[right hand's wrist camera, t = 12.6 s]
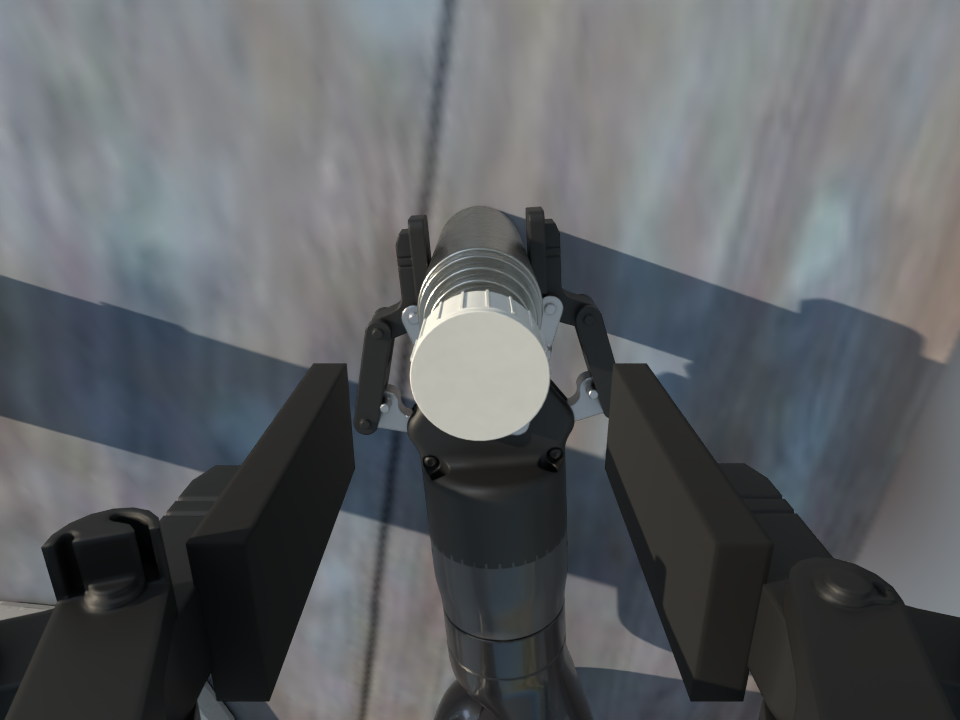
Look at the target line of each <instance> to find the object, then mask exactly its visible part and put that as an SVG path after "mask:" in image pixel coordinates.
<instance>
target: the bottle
mask: <svg viewBox="0 0 960 720" xmlns="http://www.w3.org/2000/svg"><path fill="white" fill-rule="evenodd" d="M486 290H489V292H495V293H498V294H502V295H504V296H507V297H509V296H511V297H512V299H513V300H514V301H516V302H518V303H519V304H520V305H521V306H523V307H524V308H525V309H526V310H527V311H530V312H531V315H532V317H533V319H534V320H535V322H536V324H537V326H538V328H539V331H540V329H541V323H542V316H543V299H542V295H541V290H540V288H539V285H538V282H537V280H536V277H535V274H534V272H533V269H532V266H531V264H530V261H529V258H528V256H527V253H526V250H525V248H524V245H523V242H522V240H521V237H520V234H519V232H518V230H517V228H516V226H515V225H514V223H513V222H512V221H511V220H510V218H509V217H507V216H506V215H505V214H503V213H502V212H500V211H498V210H496V209H493V208H490V207H484V206H476V207H470V208H467V209H464V210H462V211H460V212H458V213H457V214H455V215H454V216H453V217H452V218H451V219H450V220H449V221H448V222H447V223H446V225H445V226H444V228H443V230H442V232H441V235H440V237H439V240H438V243H437V246H436V248H435V251H434V254H433V256H432V259H431V262H430V264H429V267H428V270H427V272H426V275H425V278H424V280H423V283H422V286H421V288H420V292H419V296H418V303H417V314H418V321H419V327H420V331H421V328H422V324H423V321H424V319H425V318H426V319H427V318H428V317H429V315H430V314H431V313H432V312H433V311H434V310H435V309H436V308H437V307H438V306H439V303H440V302H441V301H442V302H444V301H446V300H448V299H450V298H451V297H454V296H456V295H459V294H461V292H463V291H464V293H466V292H472V291H486Z"/></svg>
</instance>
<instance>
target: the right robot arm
mask: <svg viewBox="0 0 960 720" xmlns="http://www.w3.org/2000/svg"><path fill="white" fill-rule="evenodd" d="M354 470H355V462H354V449H353V437H352V424H351V412H350V399H349V387H348V374H347V364H313V365H312V366H311V368H310V369H309V370H308V372H307V373H306V375H305V376H304V378H303V379H302V380H301V382H300V383H299V385H298V386H297V387H296V389H295V390H294V392H293V393H292V394H291V396H290V397H289V399H288V400H287V401H286V403H285V404H284V406H283V407H282V409H281V410H280V411H279V413H278V414H277V416H276V417H275V418H274V420H273V421H272V423H271V424H270V425H269V427H268V428H267V430H266V431H265V432H264V434H263V435H262V437H261V438H260V440H259V441H258V442H257V444H256V445H255V447H254V448H253V449H252V451H251V452H250V454H249V455H248V456H247V458H246V459H245V461H244V462H243V464H242V465H241V466H214V467H213V468H211V469H210V470H208V471H207V472H205V473H203V474H202V475H200V476H199V477H197V478H196V479H194V480H192V482H191V483H190V484H189V485H188V487H187V488H186V489H185V490H184V491H183V493H182V494H181V495H180V496H179V498H178V501H175V502H174V504H173V505H172V506H171V507H170V509H169V510H168V511H167V515H166V516H163V517H162V518H161V520H160V521H159V518H158V517H157V516H156V515H154V514H153V513H152V512H150V511H149V510H144V509H139V508H118V509H111V510H106V511H102V512H98V513H94V514H91V515H88V516H86V517H83V518H81V519H79V520H76V521H74V522H72V523H69V524H68V525H66V526H65V527H63V528H62V529H60V530H59V531H57V532H56V533H54V534H53V535H52V536H51V537H50V538H49V539H48V540H47V541H46V543H45V544H44V545H43V546H42V547H41V549H42V552H43V555H44V559H45V562H46V566H47V569H48V572H49V576H50V579H51V582H52V586H53V589H54V592H55V596H56V599H57V603H56V605H55V608H53V609H49V610H46V611H42V612H37V613H32V614H27V615H23V616H18V617H13V618H9V619H4V620H0V720H201V716H200V710H199V706H198V701H197V699H198V697H199V695H200V693H201V691H202V689H203V687H204V685H205V683H206V681H207V679H208V677H209V675H210V673H211V675H212V680H213V685H214V690H215V695H216V700H217V701H270V698H271V695H272V693H273V690H274V687H275V684H276V682H277V679H278V676H279V674H280V671H281V668H282V665H283V663H284V660H285V657H286V655H287V652H288V649H289V646H290V644H291V641H292V638H293V635H294V633H295V630H296V627H297V625H298V622H299V619H300V616H301V614H302V611H303V608H304V606H305V603H306V600H307V597H308V595H309V592H310V589H311V587H312V584H313V581H314V578H315V576H316V573H317V570H318V568H319V565H320V562H321V559H322V557H323V554H324V551H325V549H326V546H327V543H328V540H329V538H330V535H331V532H332V530H333V527H334V524H335V521H336V519H337V516H338V513H339V510H340V508H341V505H342V502H343V500H344V497H345V494H346V491H347V489H348V486H349V483H350V481H351V478H352V475H353V472H354ZM605 470H606V472H607V475H608V478H609V481H610V483H611V486H612V489H613V491H614V494H615V497H616V500H617V502H618V505H619V508H620V510H621V513H622V516H623V519H624V521H625V524H626V527H627V530H628V532H629V535H630V538H631V540H632V543H633V546H634V549H635V551H636V554H637V557H638V559H639V562H640V565H641V568H642V570H643V573H644V576H645V578H646V581H647V584H648V587H649V589H650V592H651V595H652V597H653V600H654V603H655V606H656V608H657V611H658V614H659V616H660V619H661V622H662V625H663V627H664V630H665V633H666V635H667V638H668V641H669V644H670V646H671V649H672V652H673V655H674V657H675V660H676V663H677V665H678V668H679V671H680V674H681V676H682V679H683V682H684V684H685V687H686V690H687V693H688V695H689V698H690V701H743V700H744V695H745V690H746V685H747V680H748V675H749V670H750V672H751V674H752V676H753V678H754V680H755V682H756V684H757V686H758V688H759V690H760V692H761V694H762V696H763V701H762V706H761V710H760V715H759V720H960V617H955V616H950V615H945V614H940V613H936V612H931V611H927V610H922V609H917V608H914V607H910V606H906V605H905V604H904V602H903V600H902V599H901V597H900V596H899V595H898V593H897V592H896V591H895V589H894V588H893V587H892V586H891V585H890V584H888V583H887V582H886V581H884V580H883V579H882V578H880V577H879V576H878V575H876V574H875V573H873V572H870V571H868V570H866V569H864V568H862V567H860V566H858V565H856V564H853V563H849V562H845V561H842V560H838V559H834V558H833V557H832V556H831V555H830V553H829V552H828V551H827V550H826V548H825V547H824V546H823V545H822V544H821V542H820V541H819V540H818V539H817V537H816V536H815V535H814V534H813V533H812V531H811V530H810V529H809V528H808V527H807V525H806V524H805V523H804V522H803V520H802V519H801V518H800V517H799V516H798V514H794V510H793V508H792V507H791V506H790V505H789V503H788V502H787V501H786V500H785V499H782V495H781V494H780V493H779V491H778V490H777V489H776V488H775V486H774V485H773V484H772V483H771V482H770V480H769V479H768V478H766V477H765V476H763V475H762V474H760V473H759V472H757V471H755V470H754V469H752V468H751V467H749V466H748V465H746V464H717V462H716V461H715V459H714V458H713V456H712V455H711V454H710V452H709V451H708V449H707V448H706V447H705V445H704V444H703V442H702V441H701V440H700V438H699V437H698V435H697V434H696V432H695V431H694V430H693V428H692V427H691V425H690V424H689V423H688V421H687V420H686V418H685V417H684V416H683V414H682V413H681V411H680V410H679V409H678V407H677V406H676V404H675V403H674V401H673V400H672V399H671V397H670V396H669V394H668V393H667V392H666V390H665V389H664V387H663V386H662V385H661V383H660V382H659V380H658V379H657V378H656V376H655V375H654V373H653V372H652V370H651V369H650V368H649V366H648V365H647V364H613V374H612V387H611V399H610V412H609V424H608V437H607V449H606V462H605Z"/></svg>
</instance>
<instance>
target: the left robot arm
mask: <svg viewBox="0 0 960 720" xmlns="http://www.w3.org/2000/svg"><path fill="white" fill-rule="evenodd" d="M526 233H527V256H528V258H529V261H530V264H531V266H532V269H533V272H534V274H535V277H536V280H537V282H538V285H539V288H540V290H541V295H542V299H543V316H542V323H541V329H540V330H542V333H543V336H544V339H545V343H546V346H547V349H548V351H546V354H547V357H548V361H549V359H550V356H551V350H552V343H553V340H554V337H555V334H556V331H557V328H558V324H559V322H562V323H566V324H569V325H573V326H575V329H576V332H577V336H578V339H579V342H580V346H581V349H582V352H583V355H584V359H585V362H586V365H587V369H588V371H586V372H583V373H581V374H580V375H579V376H578V378H577V381H576V384H577V390H576V393H575V394H574V395H573V396H572V397H571V398H568V399H567V398H566V396H565V395H564V394H563V393H562V392H561V391H560V389H559V388H558V387H557V386H556V385H555V384H554V382H553V381H552V380H551V379H550V386H549V391H548V394H547V397H546V400H545V402H544V404H543V406H542V407H541V409H540V410H539V412H538V413H537V415H536V416H535V417H534V418H533V419H532V420H531V421H530V422H529V423H528V424H527V425H525V426H524V427H523V428H521V429H520V430H518V431H516V432H514V433H512V434H510V435H508V436H505V437H502V438H499V439H494V440H487V441H473V440H466V439H462V438H458V437H455V436H453V435H450V434H448V433H446V432H444V431H442V430H441V429H439V428H438V427H436V426H435V425H434V424H433V423H432V422H430V421H429V420H428V419H427V417H426V416H425V415H424V414H423V413H422V411H421V410H420V408H419V407H418V405H417V403H415V405H414V406H413V408H412V409H409V408H407V407H405V406H404V405H403V403H402V401H401V394H400V391H399V389H398V388H397V387H395V386H393V385H389V384H388V380H389V374H390V367H391V360H392V353H393V347H394V340H395V338H396V337H398V336H400V335H403V334H405V333H408V335H409V337H410V339H411V341H412V343H413V345H415V342H416V339H417V340H418V338H419V335H420V327H419V321H418V314H417V303H418V296H419V292H420V288H421V286H422V283H423V280H424V278H425V275H426V272H427V270H428V267H429V264H430V262H431V251H430V241H429V231H428V221H427V216H426V215H415V216H411V217H410V218H409V219H408V229H402V230H401V232H400V233H399V235H398V239H397V242H396V253H397V261H398V269H399V278H400V286H401V294H402V300H401V301H400V302H399V303H397V304H395V305H392V306H390V307H388V308H387V307H383V308H380V309H378V310H377V311H376V312H375V314H374V315H373V318H372V321H371V322H370V323H369V324H368V326H367V328H366V331H365V338H364V345H363V353H362V361H361V369H360V376H359V384H358V392H357V399H356V407H355V415H354V427H355V429H356V430H357V431H358V432H359V433H361V434H364V435H369V434H372V433H374V432H375V431H376V429H377V427H378V428H384V429H390V430H396V431H402V432H407V433H408V436H409V438H410V440H411V441H412V442H413V443H414V445H415V446H416V448H417V449H418V451H419V454H420V457H421V463H422V472H423V480H424V488H425V497H426V505H427V513H428V521H429V530H430V538H431V546H432V555H433V563H434V570H435V576H436V580H437V584H438V587H439V590H440V594H441V597H442V602H443V609H444V618H445V627H446V635H447V644H448V652H449V658H450V662H451V666H452V669H453V671H454V674H455V677H456V680H455V681H454V682H453V683H452V684H451V686H450V687H449V688H448V690H447V691H446V692H445V694H444V696H443V698H442V700H441V702H440V704H439V707H438V709H437V712H436V714H435V717H434V720H593V717H592V713H591V710H590V707H589V704H588V701H587V698H586V696H585V693H584V690H583V688H582V685H581V682H580V680H579V677H578V674H577V672H576V669H575V666H574V663H573V660H572V658H571V655H570V653H569V651H568V648H567V646H566V628H565V598H564V593H565V584H566V577H567V569H568V544H567V505H566V469H565V444H566V441H567V438H568V436H569V434H570V433H571V431H572V429H573V427H574V422H575V421H578V420H581V419H585V418H588V417H591V416H594V415H598V414H601V413H604V414H605V416H606V417H608V418H609V412H610V399H611V387H612V374H613V364H615V361H614V357H613V354H612V350H611V347H610V343H609V340H608V336H607V333H606V329H605V326H604V322H603V319H602V315H601V313H600V311H599V310H598V308H597V307H596V305H595V304H594V302H593V301H592V299H591V298H590V297H589V296H587V295H585V294H579V295H577V294H574V293H570V292H567V291H565V290H564V289H563V288H562V287H561V257H560V233H559V231H558V228H557V226H556V224H555V222H554V221H553V220H552V219H544V211H543V209H542V208H541V207H529V208H526Z"/></svg>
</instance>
